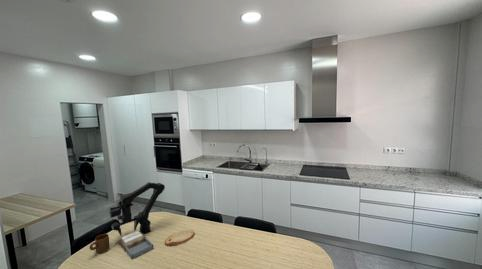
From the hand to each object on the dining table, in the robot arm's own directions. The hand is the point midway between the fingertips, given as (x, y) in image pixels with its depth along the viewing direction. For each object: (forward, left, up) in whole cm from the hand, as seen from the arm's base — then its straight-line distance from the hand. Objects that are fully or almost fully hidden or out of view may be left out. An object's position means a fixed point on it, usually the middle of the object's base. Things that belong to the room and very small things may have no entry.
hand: (128, 233), depth 143 cm
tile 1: (0, +6, -1) cm, 6 cm away
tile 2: (0, +11, -1) cm, 11 cm away
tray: (-1, +21, -4) cm, 21 cm away
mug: (+18, +3, -4) cm, 19 cm away
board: (-1, +9, -4) cm, 9 cm away
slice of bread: (-25, +30, -5) cm, 39 cm away
